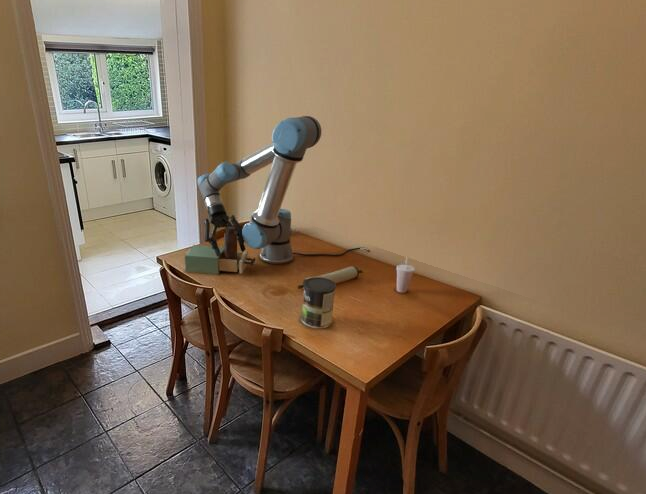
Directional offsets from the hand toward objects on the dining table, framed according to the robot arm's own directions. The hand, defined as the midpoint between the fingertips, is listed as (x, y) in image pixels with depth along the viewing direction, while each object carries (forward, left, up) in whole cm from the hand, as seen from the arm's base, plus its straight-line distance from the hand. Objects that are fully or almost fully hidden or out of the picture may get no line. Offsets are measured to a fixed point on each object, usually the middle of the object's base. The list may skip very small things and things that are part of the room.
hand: (231, 252), depth 173 cm
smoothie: (-69, +4, -9) cm, 69 cm away
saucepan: (-17, -48, -9) cm, 52 cm away
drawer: (-1, -2, -8) cm, 8 cm away
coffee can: (-38, +33, -9) cm, 51 cm away
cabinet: (+12, -2, -9) cm, 15 cm away
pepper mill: (+1, -2, -7) cm, 7 cm away
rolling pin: (-42, +4, -9) cm, 43 cm away
